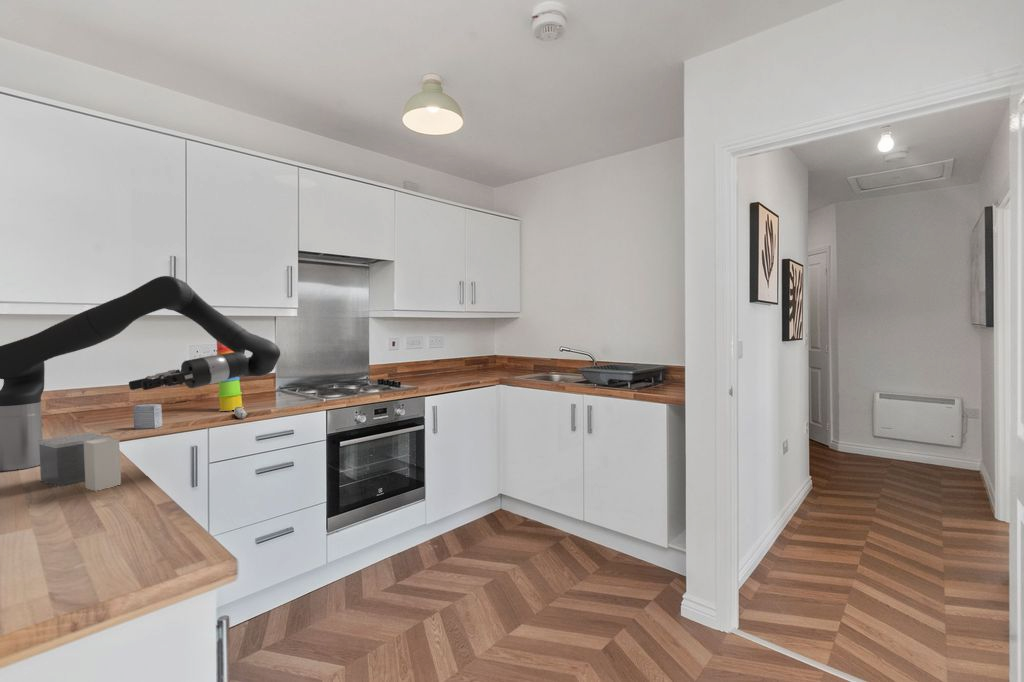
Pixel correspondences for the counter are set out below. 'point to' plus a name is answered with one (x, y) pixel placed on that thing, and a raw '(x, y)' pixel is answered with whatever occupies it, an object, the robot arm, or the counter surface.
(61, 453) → the block
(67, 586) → the counter surface
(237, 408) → the grey rock
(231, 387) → the stacking cups
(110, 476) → the cream block
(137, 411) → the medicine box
